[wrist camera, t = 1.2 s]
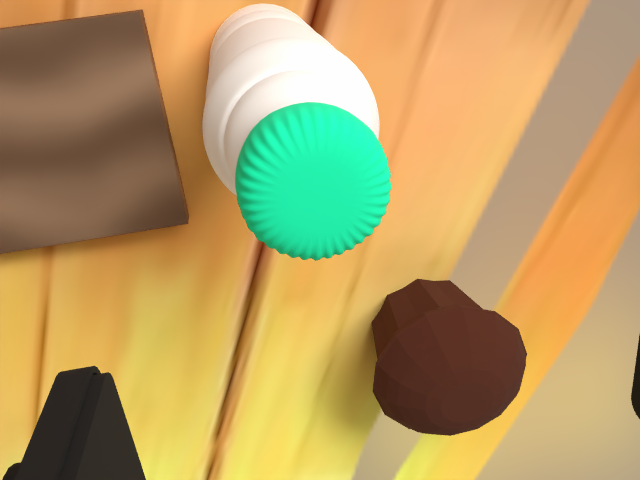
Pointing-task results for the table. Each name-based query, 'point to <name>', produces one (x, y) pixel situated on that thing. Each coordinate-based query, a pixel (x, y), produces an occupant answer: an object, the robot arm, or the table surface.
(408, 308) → the muffin
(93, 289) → the table surface
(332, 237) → the water bottle
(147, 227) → the walnut board
